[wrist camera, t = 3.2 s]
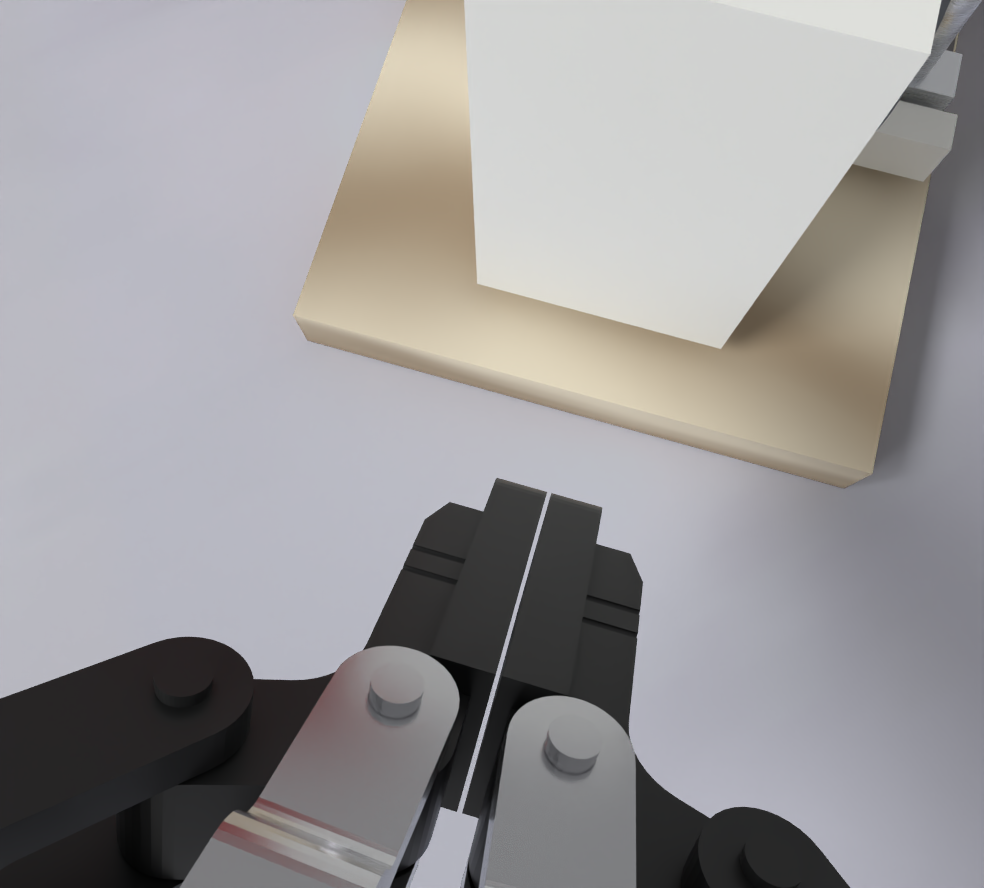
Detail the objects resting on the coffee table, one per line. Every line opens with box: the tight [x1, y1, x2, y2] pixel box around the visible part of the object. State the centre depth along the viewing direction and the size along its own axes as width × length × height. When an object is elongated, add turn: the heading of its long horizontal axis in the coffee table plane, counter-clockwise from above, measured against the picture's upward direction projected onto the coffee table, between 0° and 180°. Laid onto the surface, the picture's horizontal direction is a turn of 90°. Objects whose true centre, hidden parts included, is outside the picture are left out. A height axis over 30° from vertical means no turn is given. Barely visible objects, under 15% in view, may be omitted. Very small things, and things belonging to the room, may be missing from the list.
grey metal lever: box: [900, 0, 982, 111], centre depth 17 cm, size 1×2×5 cm, turn 74°
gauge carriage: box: [464, 0, 958, 349], centre depth 15 cm, size 8×8×9 cm
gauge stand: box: [293, 0, 959, 488], centre depth 21 cm, size 17×12×2 cm
